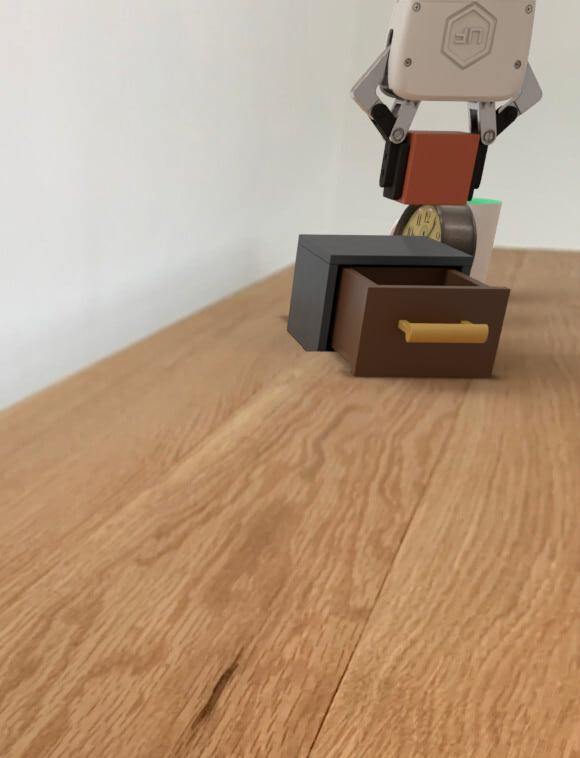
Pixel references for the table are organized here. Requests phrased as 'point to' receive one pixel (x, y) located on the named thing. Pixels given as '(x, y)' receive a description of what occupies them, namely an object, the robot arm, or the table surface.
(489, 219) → the mug
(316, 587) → the table surface
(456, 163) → the block
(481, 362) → the drawer
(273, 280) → the table surface
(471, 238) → the alarm clock
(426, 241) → the cabinet
